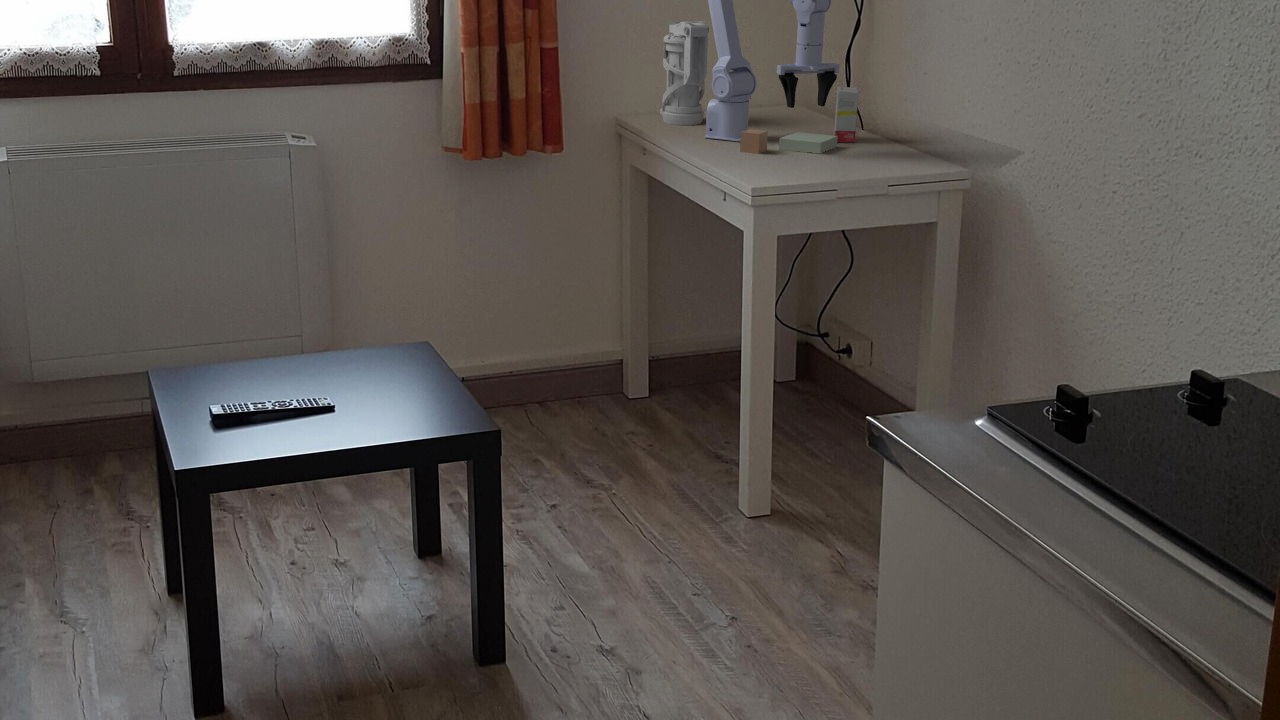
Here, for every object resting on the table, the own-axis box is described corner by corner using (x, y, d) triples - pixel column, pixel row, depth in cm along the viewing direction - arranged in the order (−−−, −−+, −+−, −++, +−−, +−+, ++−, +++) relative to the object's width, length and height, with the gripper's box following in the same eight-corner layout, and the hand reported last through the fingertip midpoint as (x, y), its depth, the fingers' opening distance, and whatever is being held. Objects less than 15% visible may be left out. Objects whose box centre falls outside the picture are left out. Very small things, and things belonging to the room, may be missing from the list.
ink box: (855, 143, 315) (859, 92, 311) (834, 142, 315) (837, 91, 311) (854, 137, 323) (857, 86, 319) (833, 136, 323) (836, 86, 320)
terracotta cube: (740, 152, 303) (740, 132, 302) (748, 149, 307) (749, 129, 305) (758, 154, 301) (759, 133, 300) (766, 151, 305) (767, 131, 303)
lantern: (655, 119, 342) (656, 18, 334) (692, 117, 346) (694, 17, 338) (677, 128, 331) (680, 23, 323) (715, 125, 335) (718, 21, 327)
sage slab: (778, 149, 306) (779, 138, 305) (796, 142, 315) (796, 131, 314) (820, 153, 302) (820, 142, 301) (836, 147, 310) (837, 136, 309)
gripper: (788, 47, 291) (784, 110, 296) (847, 45, 296) (843, 107, 301) (773, 43, 298) (770, 105, 302) (832, 41, 303) (828, 103, 307)
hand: (805, 106), depth 302 cm, fingers open, 7 cm apart
